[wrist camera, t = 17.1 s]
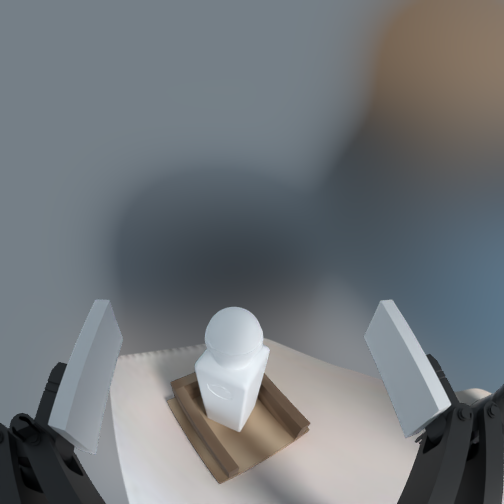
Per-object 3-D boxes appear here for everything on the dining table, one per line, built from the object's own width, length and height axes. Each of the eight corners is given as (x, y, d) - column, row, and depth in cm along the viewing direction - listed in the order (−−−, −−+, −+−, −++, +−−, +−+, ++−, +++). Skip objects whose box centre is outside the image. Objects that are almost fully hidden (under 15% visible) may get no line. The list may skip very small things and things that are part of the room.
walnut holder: (249, 366, 46) (252, 346, 43) (307, 431, 35) (318, 417, 32) (167, 403, 38) (161, 385, 35) (219, 484, 27) (218, 477, 24)
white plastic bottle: (202, 418, 35) (186, 323, 24) (222, 388, 41) (221, 285, 29) (241, 436, 33) (252, 351, 22) (259, 404, 39) (279, 305, 27)
